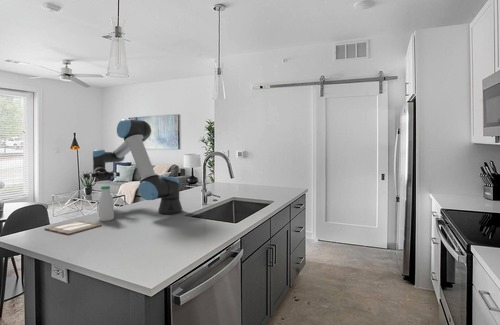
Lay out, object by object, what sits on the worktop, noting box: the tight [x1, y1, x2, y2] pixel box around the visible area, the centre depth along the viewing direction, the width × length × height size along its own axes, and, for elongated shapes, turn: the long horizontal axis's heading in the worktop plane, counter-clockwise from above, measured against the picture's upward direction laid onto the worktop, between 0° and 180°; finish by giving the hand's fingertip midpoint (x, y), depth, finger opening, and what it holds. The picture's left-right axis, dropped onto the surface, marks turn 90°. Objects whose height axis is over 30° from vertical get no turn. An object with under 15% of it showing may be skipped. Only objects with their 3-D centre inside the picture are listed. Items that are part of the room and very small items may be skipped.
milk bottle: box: [98, 185, 115, 222], centre depth 171 cm, size 8×8×20 cm
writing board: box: [44, 219, 102, 236], centre depth 155 cm, size 20×18×1 cm
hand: (103, 176), depth 179 cm, fingers open, 13 cm apart
